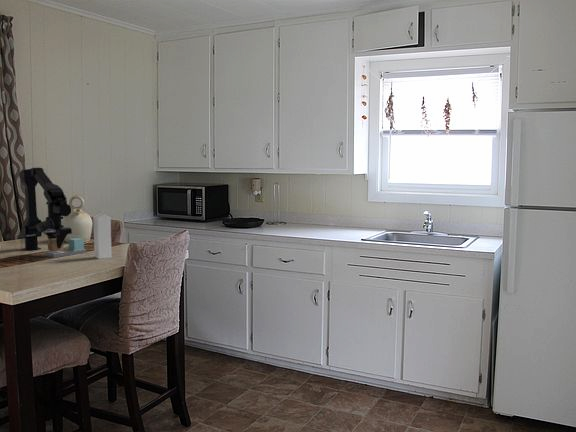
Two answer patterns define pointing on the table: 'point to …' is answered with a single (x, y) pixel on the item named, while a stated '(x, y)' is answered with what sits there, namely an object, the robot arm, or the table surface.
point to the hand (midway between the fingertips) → (55, 247)
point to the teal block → (76, 244)
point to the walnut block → (54, 245)
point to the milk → (102, 235)
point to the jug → (78, 222)
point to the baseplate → (65, 253)
